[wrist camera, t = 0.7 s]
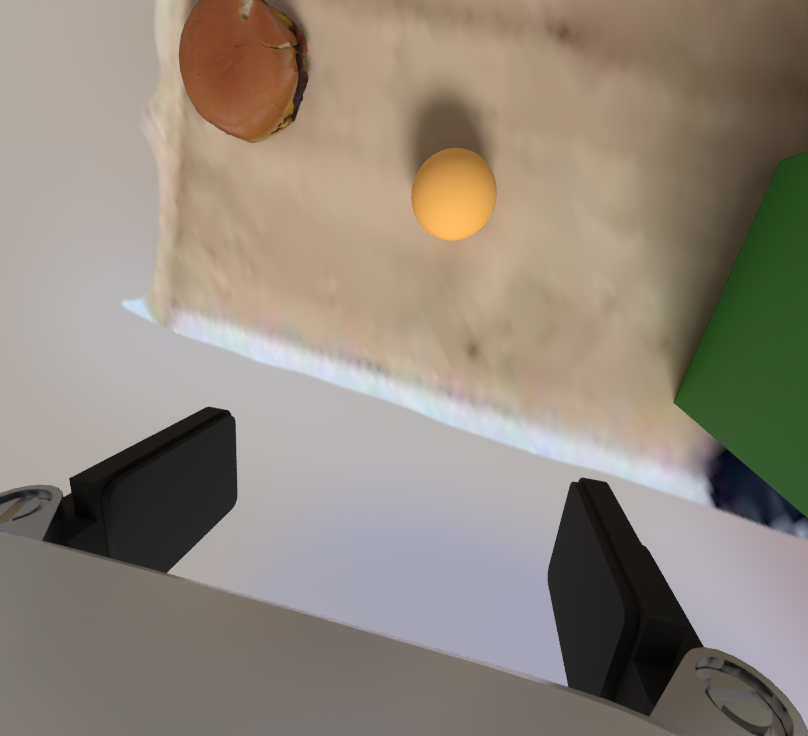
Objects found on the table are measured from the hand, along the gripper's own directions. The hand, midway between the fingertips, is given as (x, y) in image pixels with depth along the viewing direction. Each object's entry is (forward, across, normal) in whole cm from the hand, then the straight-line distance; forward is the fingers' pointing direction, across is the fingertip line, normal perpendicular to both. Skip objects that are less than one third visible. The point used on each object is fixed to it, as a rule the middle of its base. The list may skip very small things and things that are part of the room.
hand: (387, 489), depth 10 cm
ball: (+21, +1, -10) cm, 23 cm away
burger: (+24, +18, -18) cm, 36 cm away
